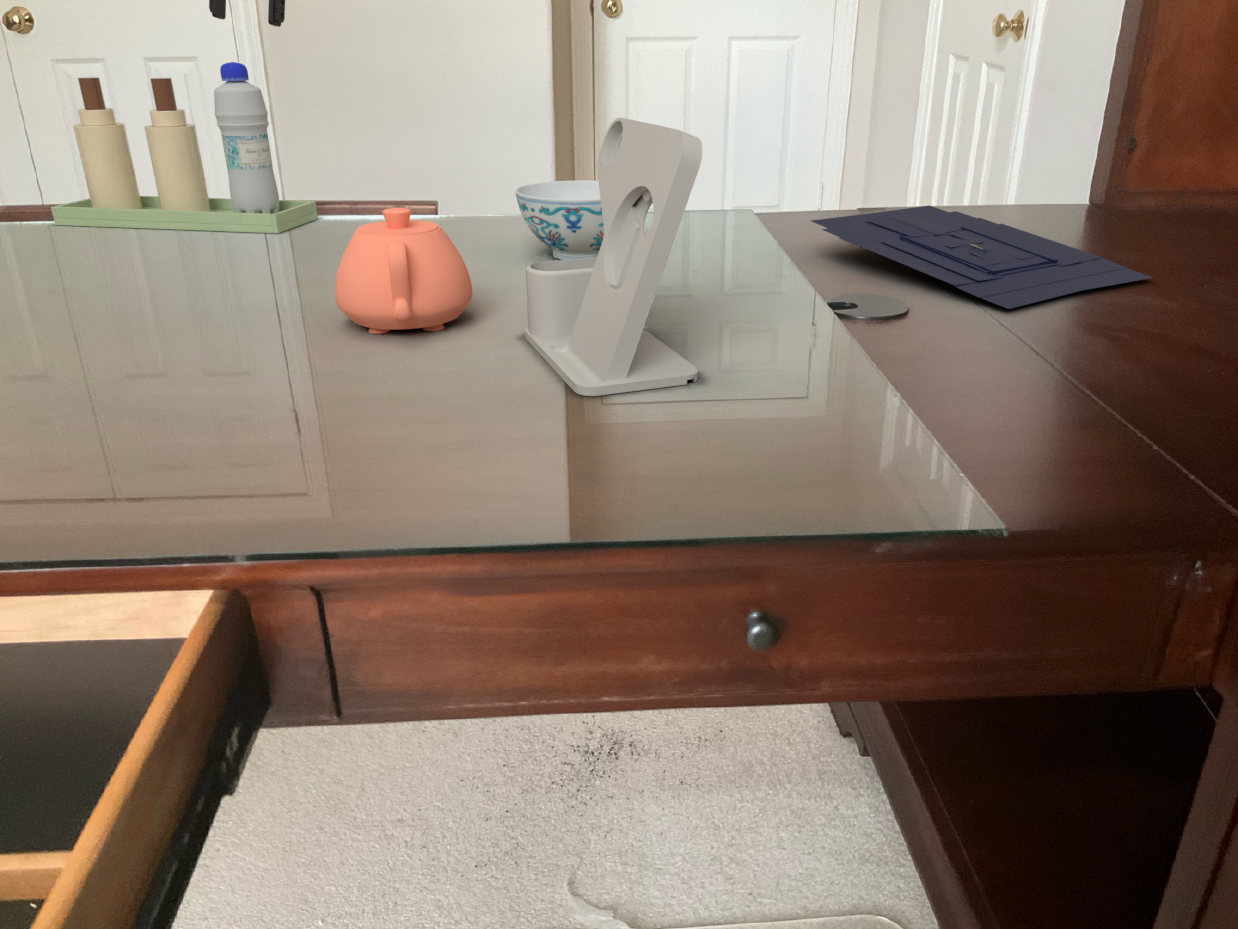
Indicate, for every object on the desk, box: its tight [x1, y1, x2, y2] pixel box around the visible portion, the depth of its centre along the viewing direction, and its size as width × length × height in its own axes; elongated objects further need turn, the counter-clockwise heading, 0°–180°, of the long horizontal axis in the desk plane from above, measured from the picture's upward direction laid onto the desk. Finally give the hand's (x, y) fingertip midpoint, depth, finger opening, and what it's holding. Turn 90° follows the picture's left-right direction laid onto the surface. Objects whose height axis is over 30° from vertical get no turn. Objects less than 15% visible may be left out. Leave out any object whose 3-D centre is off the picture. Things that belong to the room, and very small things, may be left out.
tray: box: [50, 195, 319, 234], centre depth 132 cm, size 34×11×2 cm, turn 79°
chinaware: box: [514, 179, 604, 260], centre depth 110 cm, size 15×15×8 cm
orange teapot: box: [334, 207, 473, 335], centre depth 83 cm, size 12×14×10 cm
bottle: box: [213, 61, 280, 214], centre depth 126 cm, size 7×7×20 cm
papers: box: [810, 204, 1154, 310], centre depth 105 cm, size 24×30×4 cm
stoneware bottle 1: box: [72, 76, 143, 209], centre depth 130 cm, size 6×6×18 cm
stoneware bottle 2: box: [144, 77, 211, 212], centre depth 128 cm, size 6×6×18 cm
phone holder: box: [524, 116, 703, 397], centre depth 73 cm, size 17×10×18 cm, turn 20°
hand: (246, 21), depth 130 cm, fingers open, 8 cm apart
